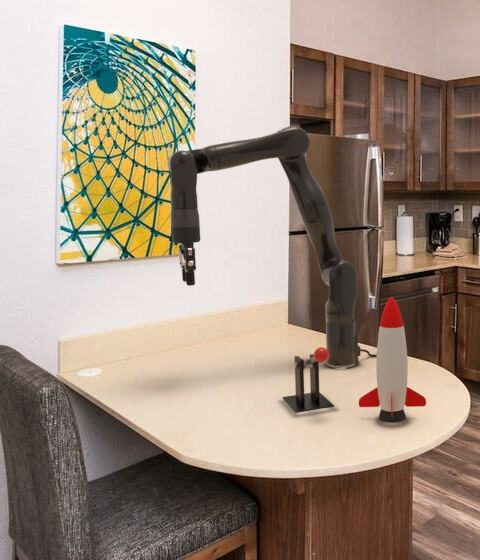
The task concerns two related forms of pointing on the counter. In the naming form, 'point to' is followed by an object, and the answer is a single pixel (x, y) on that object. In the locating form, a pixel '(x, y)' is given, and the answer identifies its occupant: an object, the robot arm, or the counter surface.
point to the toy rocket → (392, 370)
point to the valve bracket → (307, 400)
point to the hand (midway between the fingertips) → (188, 283)
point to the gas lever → (316, 358)
